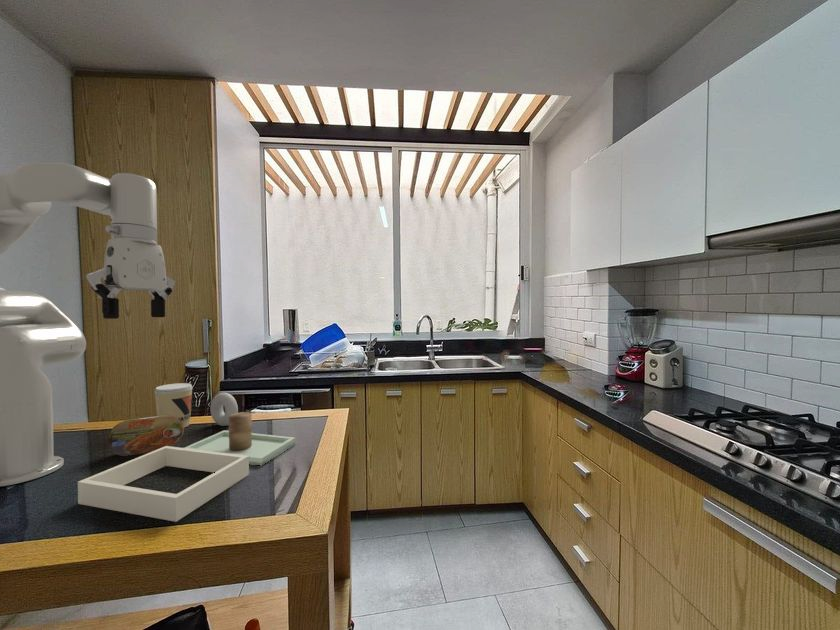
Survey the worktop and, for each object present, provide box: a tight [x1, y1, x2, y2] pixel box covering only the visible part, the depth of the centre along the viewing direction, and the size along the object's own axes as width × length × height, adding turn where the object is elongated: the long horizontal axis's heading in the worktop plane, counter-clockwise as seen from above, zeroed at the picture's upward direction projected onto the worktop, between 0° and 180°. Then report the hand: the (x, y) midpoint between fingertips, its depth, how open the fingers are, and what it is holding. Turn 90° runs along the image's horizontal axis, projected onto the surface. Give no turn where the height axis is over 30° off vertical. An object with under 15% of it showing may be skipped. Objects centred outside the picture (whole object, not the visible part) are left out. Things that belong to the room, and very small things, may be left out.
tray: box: [184, 429, 296, 467], centre depth 88 cm, size 22×13×2 cm, turn 76°
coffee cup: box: [154, 382, 194, 428], centre depth 105 cm, size 9×9×12 cm
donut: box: [209, 392, 239, 427], centre depth 106 cm, size 10×4×10 cm, turn 65°
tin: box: [106, 415, 185, 457], centre depth 87 cm, size 15×3×8 cm, turn 114°
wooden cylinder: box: [228, 411, 253, 451], centre depth 88 cm, size 5×5×8 cm
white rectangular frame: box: [77, 446, 250, 523], centre depth 69 cm, size 22×17×4 cm
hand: (136, 317), depth 74 cm, fingers open, 9 cm apart
